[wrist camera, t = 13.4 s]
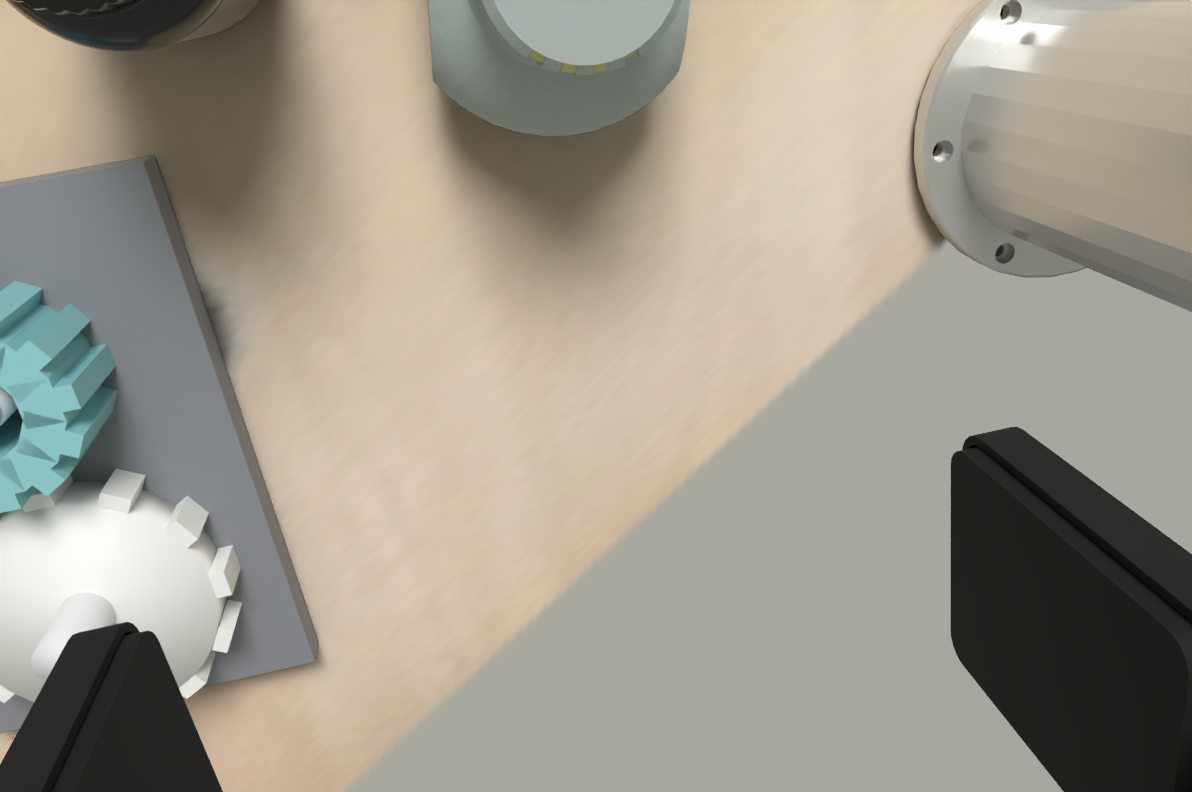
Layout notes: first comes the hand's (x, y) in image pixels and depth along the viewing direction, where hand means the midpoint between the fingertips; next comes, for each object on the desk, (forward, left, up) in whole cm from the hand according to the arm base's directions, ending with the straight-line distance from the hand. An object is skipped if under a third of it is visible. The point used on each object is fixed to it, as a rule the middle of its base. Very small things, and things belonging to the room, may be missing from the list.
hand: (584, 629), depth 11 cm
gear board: (+18, +8, -28) cm, 34 cm away
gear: (+18, +4, -27) cm, 32 cm away
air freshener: (-4, -7, -29) cm, 30 cm away
